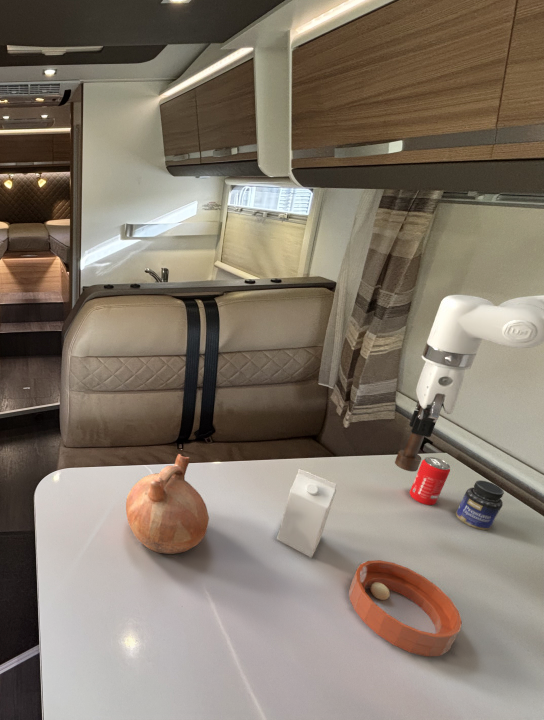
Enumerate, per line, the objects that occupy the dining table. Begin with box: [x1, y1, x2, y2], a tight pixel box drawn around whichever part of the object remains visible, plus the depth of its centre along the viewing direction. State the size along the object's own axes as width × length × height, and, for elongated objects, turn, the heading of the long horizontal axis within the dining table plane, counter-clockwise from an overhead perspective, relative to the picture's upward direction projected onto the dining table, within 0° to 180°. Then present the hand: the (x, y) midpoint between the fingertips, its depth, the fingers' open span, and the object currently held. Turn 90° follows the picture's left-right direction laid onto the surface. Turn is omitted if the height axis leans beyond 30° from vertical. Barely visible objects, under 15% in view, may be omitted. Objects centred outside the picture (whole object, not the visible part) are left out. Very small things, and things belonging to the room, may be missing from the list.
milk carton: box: [276, 468, 338, 558], centre depth 95 cm, size 7×7×19 cm
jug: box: [125, 453, 210, 555], centre depth 97 cm, size 18×18×20 cm
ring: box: [348, 559, 463, 658], centre depth 81 cm, size 15×15×6 cm
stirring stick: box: [394, 407, 430, 472], centre depth 95 cm, size 4×4×15 cm
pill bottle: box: [455, 479, 505, 531], centre depth 101 cm, size 6×6×11 cm
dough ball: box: [369, 582, 390, 601], centre depth 85 cm, size 3×3×3 cm
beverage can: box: [409, 456, 451, 506], centre depth 108 cm, size 5×5×12 cm
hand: (419, 430), depth 94 cm, fingers closed on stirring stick, 2 cm apart
